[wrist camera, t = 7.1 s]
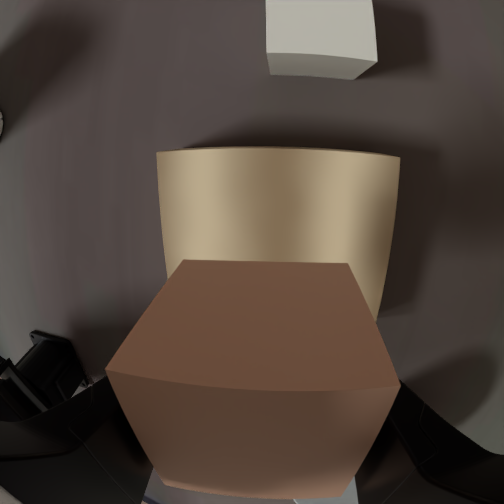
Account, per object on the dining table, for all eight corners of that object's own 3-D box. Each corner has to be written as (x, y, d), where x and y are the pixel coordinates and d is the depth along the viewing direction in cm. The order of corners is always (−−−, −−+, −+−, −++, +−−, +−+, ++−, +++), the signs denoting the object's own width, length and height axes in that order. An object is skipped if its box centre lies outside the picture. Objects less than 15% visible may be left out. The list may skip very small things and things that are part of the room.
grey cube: (270, 75, 15) (266, 52, 11) (269, 7, 14) (265, -31, 9) (353, 80, 15) (377, 61, 10) (348, 12, 13) (368, -22, 9)
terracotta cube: (199, 376, 11) (164, 484, 6) (183, 259, 9) (104, 369, 4) (328, 381, 10) (340, 496, 6) (347, 263, 9) (400, 386, 4)
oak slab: (194, 315, 22) (179, 348, 18) (181, 148, 17) (156, 152, 14) (355, 321, 21) (366, 355, 17) (376, 152, 16) (400, 157, 13)
